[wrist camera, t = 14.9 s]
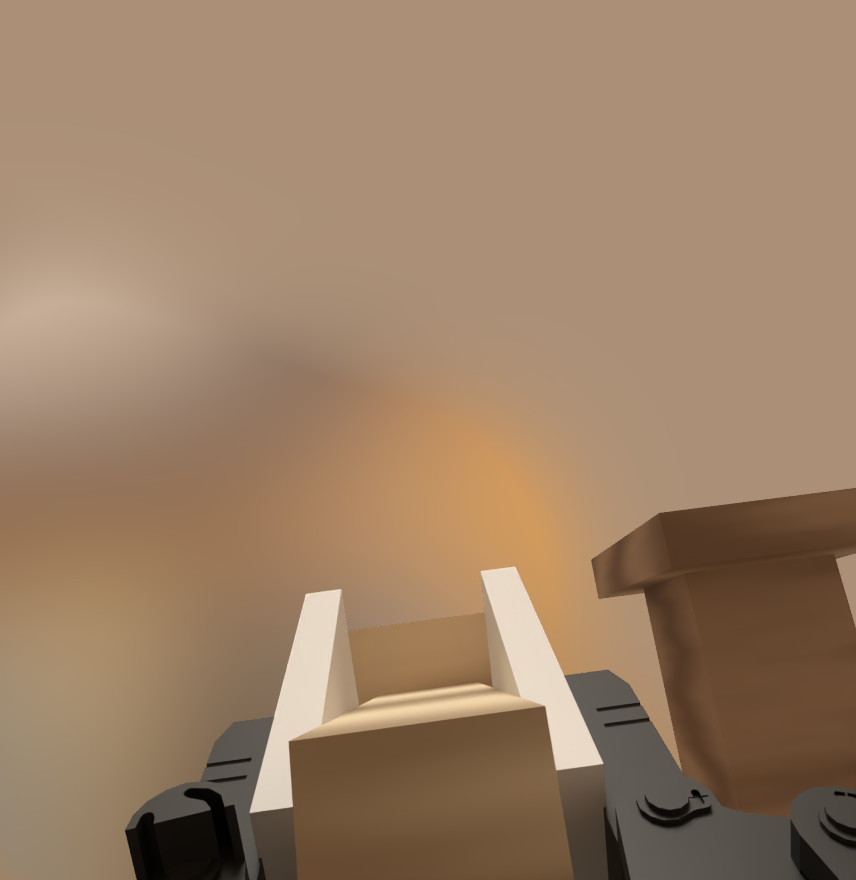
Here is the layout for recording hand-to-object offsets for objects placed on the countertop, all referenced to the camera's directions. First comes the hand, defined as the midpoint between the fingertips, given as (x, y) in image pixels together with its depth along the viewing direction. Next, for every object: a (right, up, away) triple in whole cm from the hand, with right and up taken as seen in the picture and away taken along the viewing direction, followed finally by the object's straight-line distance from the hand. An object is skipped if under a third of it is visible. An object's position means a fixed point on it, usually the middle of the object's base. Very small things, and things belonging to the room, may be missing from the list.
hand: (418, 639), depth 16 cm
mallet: (+1, -5, +1) cm, 5 cm away
